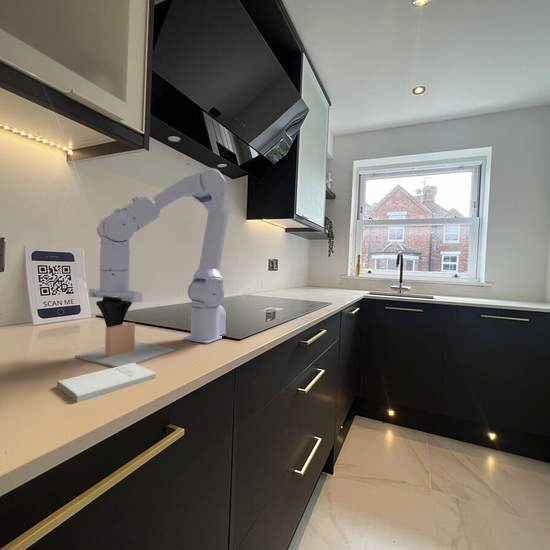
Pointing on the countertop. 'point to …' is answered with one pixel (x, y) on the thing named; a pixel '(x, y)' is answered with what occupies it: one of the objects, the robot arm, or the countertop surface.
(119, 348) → the tile
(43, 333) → the countertop surface
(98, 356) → the mat
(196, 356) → the countertop surface
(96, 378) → the external hard drive
